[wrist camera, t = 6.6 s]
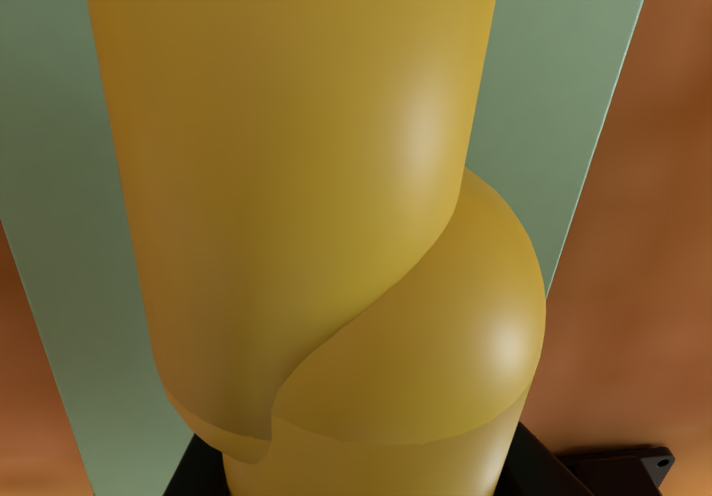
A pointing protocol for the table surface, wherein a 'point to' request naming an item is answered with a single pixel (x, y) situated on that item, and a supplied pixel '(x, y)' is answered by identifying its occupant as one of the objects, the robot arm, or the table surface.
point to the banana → (323, 239)
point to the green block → (110, 223)
